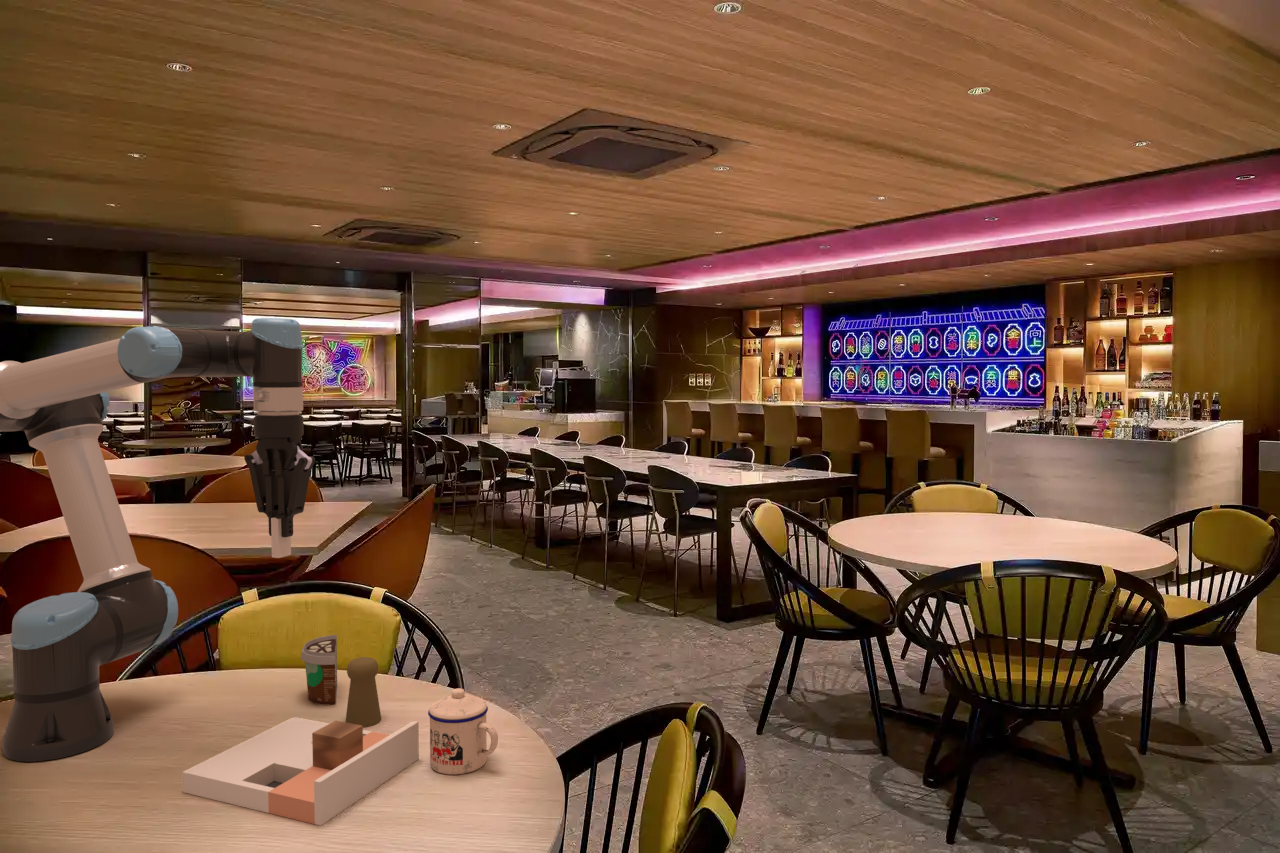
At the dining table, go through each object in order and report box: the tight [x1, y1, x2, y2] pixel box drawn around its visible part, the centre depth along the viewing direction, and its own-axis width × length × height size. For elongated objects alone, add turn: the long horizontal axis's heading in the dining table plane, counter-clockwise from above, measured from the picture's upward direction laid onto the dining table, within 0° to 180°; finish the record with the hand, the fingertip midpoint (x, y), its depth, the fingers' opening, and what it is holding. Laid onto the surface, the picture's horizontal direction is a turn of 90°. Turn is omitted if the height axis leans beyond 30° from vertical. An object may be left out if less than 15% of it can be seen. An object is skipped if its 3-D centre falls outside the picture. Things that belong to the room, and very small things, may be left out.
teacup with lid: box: [427, 687, 499, 775], centre depth 136 cm, size 12×9×12 cm
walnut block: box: [312, 720, 364, 770], centre depth 130 cm, size 5×5×5 cm
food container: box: [300, 634, 338, 706], centre depth 164 cm, size 12×6×10 cm, turn 17°
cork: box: [345, 656, 382, 728], centre depth 153 cm, size 6×6×11 cm
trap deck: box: [181, 716, 420, 827], centre depth 133 cm, size 25×22×6 cm
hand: (281, 555), depth 145 cm, fingers closed
